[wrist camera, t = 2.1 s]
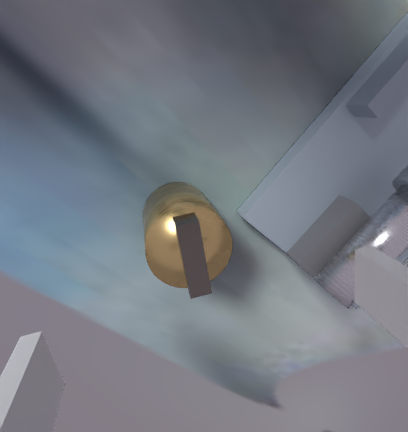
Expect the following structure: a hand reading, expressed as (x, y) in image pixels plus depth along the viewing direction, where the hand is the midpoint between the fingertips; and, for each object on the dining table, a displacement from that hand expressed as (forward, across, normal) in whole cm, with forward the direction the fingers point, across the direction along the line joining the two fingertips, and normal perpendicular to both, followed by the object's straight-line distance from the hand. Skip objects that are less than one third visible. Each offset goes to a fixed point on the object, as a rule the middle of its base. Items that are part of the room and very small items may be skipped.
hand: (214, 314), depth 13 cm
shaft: (+9, +13, -3) cm, 16 cm away
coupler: (+11, 0, 0) cm, 11 cm away
